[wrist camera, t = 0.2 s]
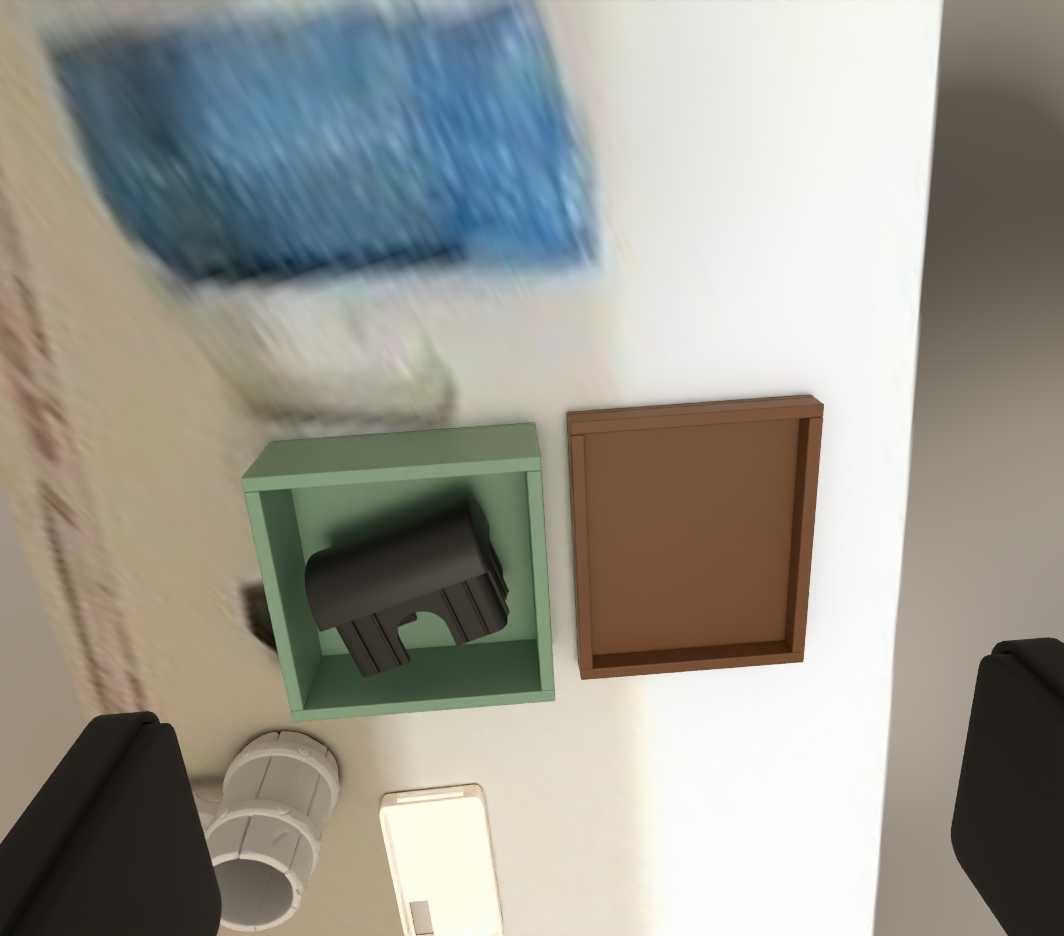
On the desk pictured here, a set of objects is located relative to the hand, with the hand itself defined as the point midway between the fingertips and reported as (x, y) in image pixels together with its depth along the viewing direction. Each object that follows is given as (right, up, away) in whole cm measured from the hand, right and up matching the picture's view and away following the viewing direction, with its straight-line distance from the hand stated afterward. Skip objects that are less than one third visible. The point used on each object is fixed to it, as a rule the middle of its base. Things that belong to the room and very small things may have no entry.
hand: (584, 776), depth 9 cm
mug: (-20, -18, +45) cm, 53 cm away
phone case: (-7, -26, +49) cm, 56 cm away
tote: (-8, -2, +40) cm, 40 cm away
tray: (+9, -1, +40) cm, 41 cm away
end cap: (-8, -2, +39) cm, 40 cm away
